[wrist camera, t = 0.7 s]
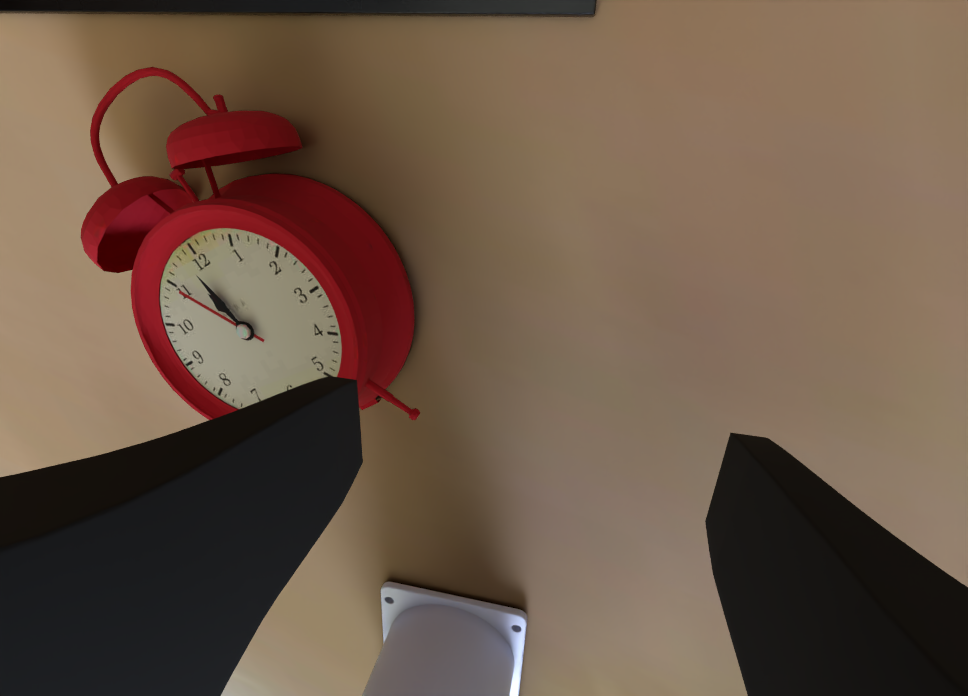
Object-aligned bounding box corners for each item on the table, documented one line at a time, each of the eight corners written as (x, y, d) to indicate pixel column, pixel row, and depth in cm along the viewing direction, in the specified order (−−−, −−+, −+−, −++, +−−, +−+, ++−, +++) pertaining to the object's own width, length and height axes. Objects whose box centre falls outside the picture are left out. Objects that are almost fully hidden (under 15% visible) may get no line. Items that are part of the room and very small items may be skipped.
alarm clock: (258, 502, 22) (-103, 210, 15) (312, 406, 27) (60, 158, 20) (454, 420, 18) (86, -17, 11) (473, 327, 23) (228, -10, 16)
